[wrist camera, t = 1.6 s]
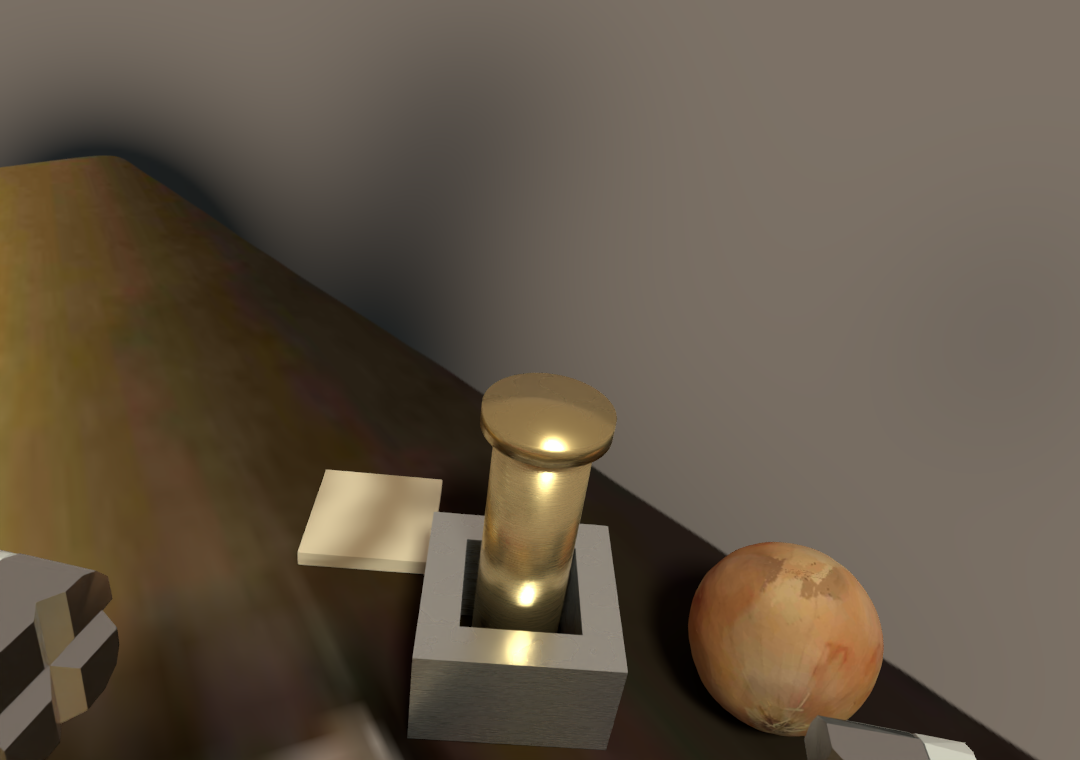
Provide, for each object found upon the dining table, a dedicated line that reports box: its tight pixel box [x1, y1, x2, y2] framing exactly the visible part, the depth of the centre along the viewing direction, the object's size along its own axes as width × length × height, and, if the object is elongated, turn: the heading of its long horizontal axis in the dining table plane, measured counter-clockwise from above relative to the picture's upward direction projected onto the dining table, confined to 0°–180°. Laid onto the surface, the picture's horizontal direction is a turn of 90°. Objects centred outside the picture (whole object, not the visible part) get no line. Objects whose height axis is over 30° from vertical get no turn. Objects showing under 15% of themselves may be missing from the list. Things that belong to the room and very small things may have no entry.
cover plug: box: [472, 373, 617, 633], centre depth 39 cm, size 6×6×17 cm
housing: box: [407, 512, 628, 750], centre depth 42 cm, size 10×10×6 cm
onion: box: [688, 542, 883, 736], centre depth 41 cm, size 10×10×10 cm
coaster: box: [297, 470, 442, 574], centre depth 51 cm, size 8×8×1 cm
